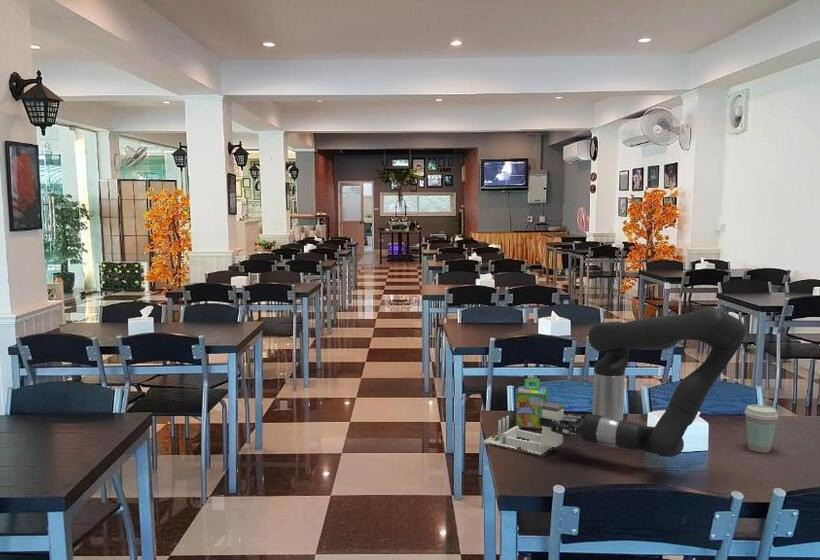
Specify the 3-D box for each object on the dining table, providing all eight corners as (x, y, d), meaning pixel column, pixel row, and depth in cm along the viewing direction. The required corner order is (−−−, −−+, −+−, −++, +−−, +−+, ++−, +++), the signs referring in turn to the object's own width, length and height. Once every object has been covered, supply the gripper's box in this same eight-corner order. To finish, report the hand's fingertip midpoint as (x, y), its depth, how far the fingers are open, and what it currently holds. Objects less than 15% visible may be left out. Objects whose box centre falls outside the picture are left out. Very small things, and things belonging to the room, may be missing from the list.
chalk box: (515, 428, 207) (516, 382, 206) (517, 420, 216) (518, 375, 215) (545, 431, 205) (546, 384, 204) (546, 422, 214) (547, 376, 213)
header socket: (540, 457, 183) (541, 433, 183) (482, 443, 194) (483, 421, 193) (557, 445, 193) (558, 422, 192) (502, 432, 203) (502, 411, 203)
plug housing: (547, 439, 191) (548, 402, 190) (562, 442, 188) (563, 404, 187) (541, 444, 187) (542, 405, 186) (556, 447, 184) (557, 408, 183)
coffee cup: (779, 449, 191) (782, 408, 190) (771, 456, 185) (773, 414, 184) (747, 442, 197) (750, 402, 196) (738, 449, 191) (740, 408, 190)
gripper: (612, 410, 184) (553, 400, 194) (594, 423, 173) (532, 412, 182) (611, 436, 185) (553, 425, 195) (593, 451, 173) (532, 438, 183)
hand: (543, 419), depth 188 cm, fingers closed on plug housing, 4 cm apart
